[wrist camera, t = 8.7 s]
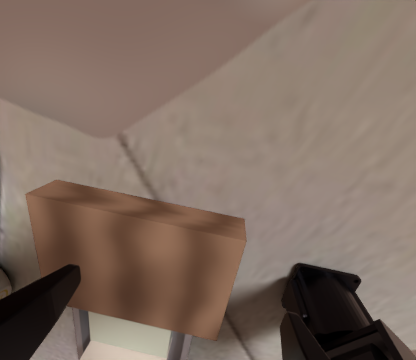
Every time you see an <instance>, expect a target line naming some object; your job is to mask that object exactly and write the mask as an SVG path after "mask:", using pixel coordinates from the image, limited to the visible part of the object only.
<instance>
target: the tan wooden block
mask: <svg viewBox="0 0 416 360" xmlns="http://www.w3.org/2000/svg"><path fill="white" fill-rule="evenodd" d="M25 195H26V200H27V205H28V210H29V215H30V221H31V226H32V231H33V236H34V241H35V246H36V252H37V257H38V262H39V267H40V272H41V278H42V277H44V276H46V275H48V274H50V273H52V272H54V271H56V270H58V269H60V268H62V267H64V266H66V265H68V264H76V265H79V266H80V271H81V282H80V284H79V286H78V288H77V289H76V291H75V293H74V294H73V296H72V298H71V299H70V301H69V303H68V304H67V306H68V307H72V308H77V309H81V310H85V311H90V312H94V313H98V314H102V315H107V316H111V317H115V318H120V319H124V320H128V321H132V322H137V323H141V324H145V325H150V326H154V327H158V328H162V329H167V330H171V331H175V332H180V333H184V334H188V335H192V336H197V337H201V338H205V339H210V340H214V341H217V337H218V334H219V331H220V327H221V324H222V321H223V317H224V314H225V311H226V307H227V304H228V301H229V297H230V294H231V291H232V288H233V284H234V281H235V278H236V274H237V271H238V268H239V264H240V261H241V258H242V254H243V251H244V248H245V245H246V231H245V220H244V219H242V218H237V217H233V216H228V215H223V214H218V213H214V212H209V211H204V210H199V209H194V208H190V207H185V206H180V205H175V204H170V203H166V202H161V201H156V200H151V199H146V198H142V197H137V196H132V195H127V194H122V193H118V192H113V191H108V190H103V189H98V188H94V187H89V186H84V185H79V184H74V183H70V182H65V181H60V180H55V181H53V182H51V183H48V184H46V185H44V186H42V187H40V188H38V189H35V190H33V191H31V192H29V193H27V194H25Z"/></svg>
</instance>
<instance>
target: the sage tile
mask: <svg viewBox="0 0 416 360" xmlns="http://www.w3.org/2000/svg"><path fill="white" fill-rule="evenodd" d="M88 314H89V327H90V340H92V341H96V342H101V343H105V344H109V345H113V346H117V347H121V348H125V349H130V350H134V351H138V352H142V353H146V354H150V355H154V356H158V357H163V358H167V354H168V351H169V347H170V343H171V339H172V334H173V331H171V330H167V329H162V328H158V327H154V326H150V325H145V324H141V323H137V322H132V321H128V320H124V319H120V318H115V317H111V316H107V315H102V314H98V313H94V312H90V311H88Z"/></svg>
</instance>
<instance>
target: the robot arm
mask: <svg viewBox="0 0 416 360" xmlns="http://www.w3.org/2000/svg"><path fill="white" fill-rule="evenodd" d="M302 268H304V269H302ZM80 282H81V271H80V266H79V265H76V264H68V265H66V266H64V267H62V268H60V269H58V270H56V271H54V272H52V273H50V274H48V275H46V276H44V277H42V278H41V279H39V280H37V281H35V282H33V283H31V284H29V285H27V286H25V287H23V288H21V289H19V290H18V291H16V292H14V293H12V294H10V295H8V296H6V297H4V298H2V299H0V360H29V359H30V358H31V357H32V355H33V354H34V352H35V351H36V350H37V348H38V347H39V346H40V344H41V343H42V342H43V340H44V339H45V337H46V336H47V335H48V333H49V332H50V331H51V329H52V328H53V326H54V325H55V323H56V322H57V321H58V319H59V317H60V316H61V314H62V313H63V311H64V309H65V308H66V306H67V304H68V303H69V301H70V299H71V298H72V296H73V294H74V293H75V291H76V289H77V288H78V286H79V284H80ZM360 283H361V279H360V278H359V276H357V275H354V274H349V273H345V272H340V271H335V270H331V269H326V268H321V267H317V266H312V265H307V264H299V265H298V266H297V268H296V270H295V273H294V275H293V277H292V279H291V280H290V281H289V283H288V285H287V288H286V290H285V292H284V294H283V299H282V302H281V303H282V306H283V308H286V310H287V312H286V313H285V315H284V318H283V320H282V322H281V325H280V335H281V346H282V358H283V360H416V357H415V355H414V354H413V353H412V351H411V350H410V349H409V348H408V347H407V346H406V345H405V344H404V343H403V342H402V341H401V340H400V339H399V338H398V337H397V336H396V335H395V334H394V333H393V332H392V331H391V330H390V329H389V328H388V327H387V326H386V325H385V324H384V323H383V322H382V321H381V320H380V319H378V320H376V321H373V319H372V318H371V316H370V315H369V313H368V311H367V310H366V308H365V307H364V305H363V304H362V302H361V300H360V299H359V297H358V296H357V294H356V293H355V291H356V289H357V288H358V286H359V285H360Z"/></svg>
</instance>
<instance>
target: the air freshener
mask: <svg viewBox="0 0 416 360" xmlns="http://www.w3.org/2000/svg"><path fill="white" fill-rule="evenodd" d="M11 290H12V288H11V284H10V281H9V279H8V277H7V275H6V274H5V272H4V271H3V270H2V269H1V268H0V299H2V298H4V297H6V296H8V295H10V294H11Z"/></svg>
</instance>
